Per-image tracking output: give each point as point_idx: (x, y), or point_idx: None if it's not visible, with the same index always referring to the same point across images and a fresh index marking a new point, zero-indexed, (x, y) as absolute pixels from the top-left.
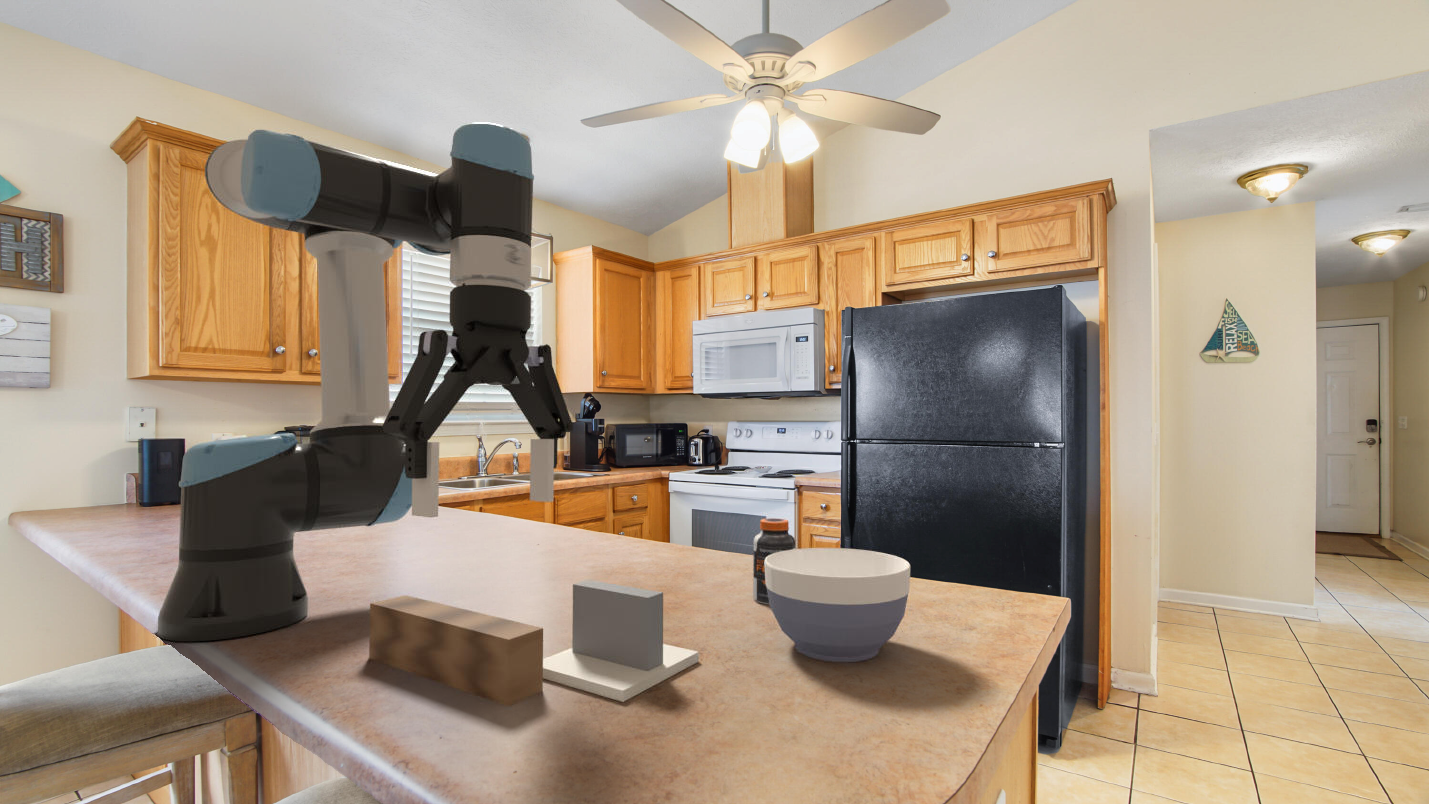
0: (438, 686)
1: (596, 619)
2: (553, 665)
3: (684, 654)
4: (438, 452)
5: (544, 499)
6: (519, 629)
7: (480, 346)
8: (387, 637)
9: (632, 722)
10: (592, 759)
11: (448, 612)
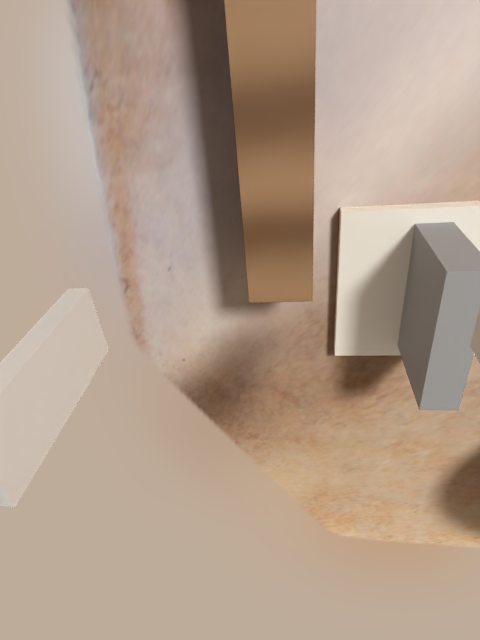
0: None
1: (422, 297)
2: (355, 242)
3: None
4: (31, 476)
5: (474, 337)
6: (288, 279)
7: None
8: None
9: (302, 377)
10: (234, 389)
11: (281, 85)
